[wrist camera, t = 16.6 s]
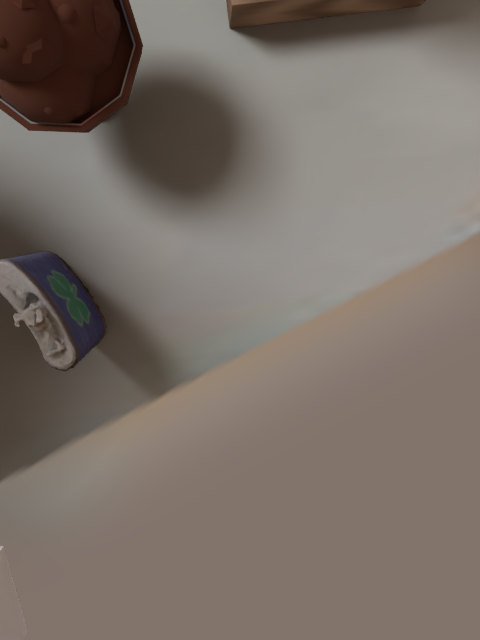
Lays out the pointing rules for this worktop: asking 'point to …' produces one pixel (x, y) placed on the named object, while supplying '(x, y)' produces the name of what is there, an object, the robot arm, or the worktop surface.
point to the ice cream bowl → (66, 61)
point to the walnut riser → (303, 9)
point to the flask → (52, 307)
